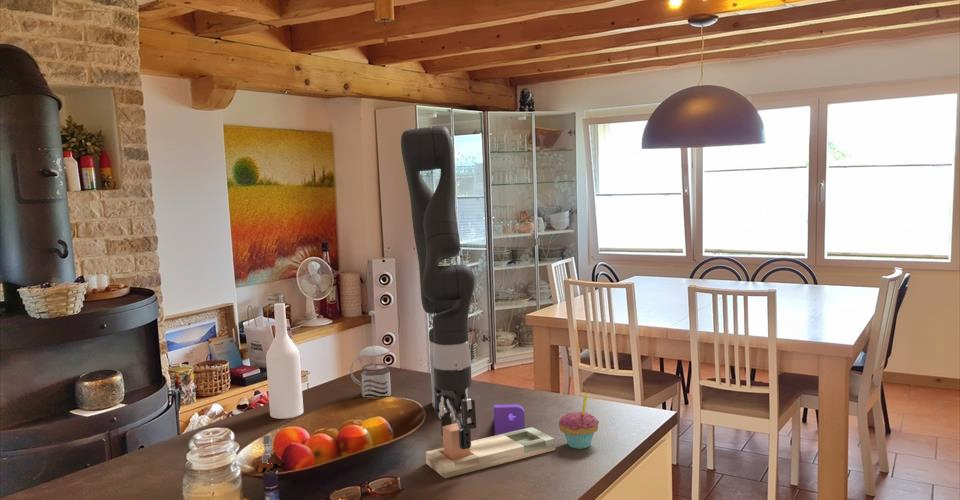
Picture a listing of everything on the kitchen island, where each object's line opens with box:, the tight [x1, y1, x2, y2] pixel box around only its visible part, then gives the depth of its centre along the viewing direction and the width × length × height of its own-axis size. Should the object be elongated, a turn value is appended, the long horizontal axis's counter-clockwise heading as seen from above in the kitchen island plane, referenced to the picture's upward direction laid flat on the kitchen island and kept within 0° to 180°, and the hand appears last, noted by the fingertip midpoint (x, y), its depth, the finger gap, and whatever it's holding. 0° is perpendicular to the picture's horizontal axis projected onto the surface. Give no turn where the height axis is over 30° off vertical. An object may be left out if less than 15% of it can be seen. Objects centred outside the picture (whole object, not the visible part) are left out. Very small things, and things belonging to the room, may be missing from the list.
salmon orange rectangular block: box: [442, 422, 470, 460], centre depth 141 cm, size 4×4×7 cm
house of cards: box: [261, 435, 274, 464], centre depth 142 cm, size 9×9×8 cm
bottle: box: [265, 302, 304, 420], centre depth 174 cm, size 8×8×30 cm
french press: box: [349, 310, 392, 398], centre depth 188 cm, size 10×12×25 cm
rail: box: [425, 426, 556, 479], centre depth 145 cm, size 9×26×2 cm, turn 118°
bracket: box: [493, 403, 526, 436], centre depth 164 cm, size 12×7×7 cm, turn 177°
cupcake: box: [558, 391, 600, 450], centre depth 150 cm, size 9×8×12 cm
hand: (455, 442), depth 141 cm, fingers open, 8 cm apart
